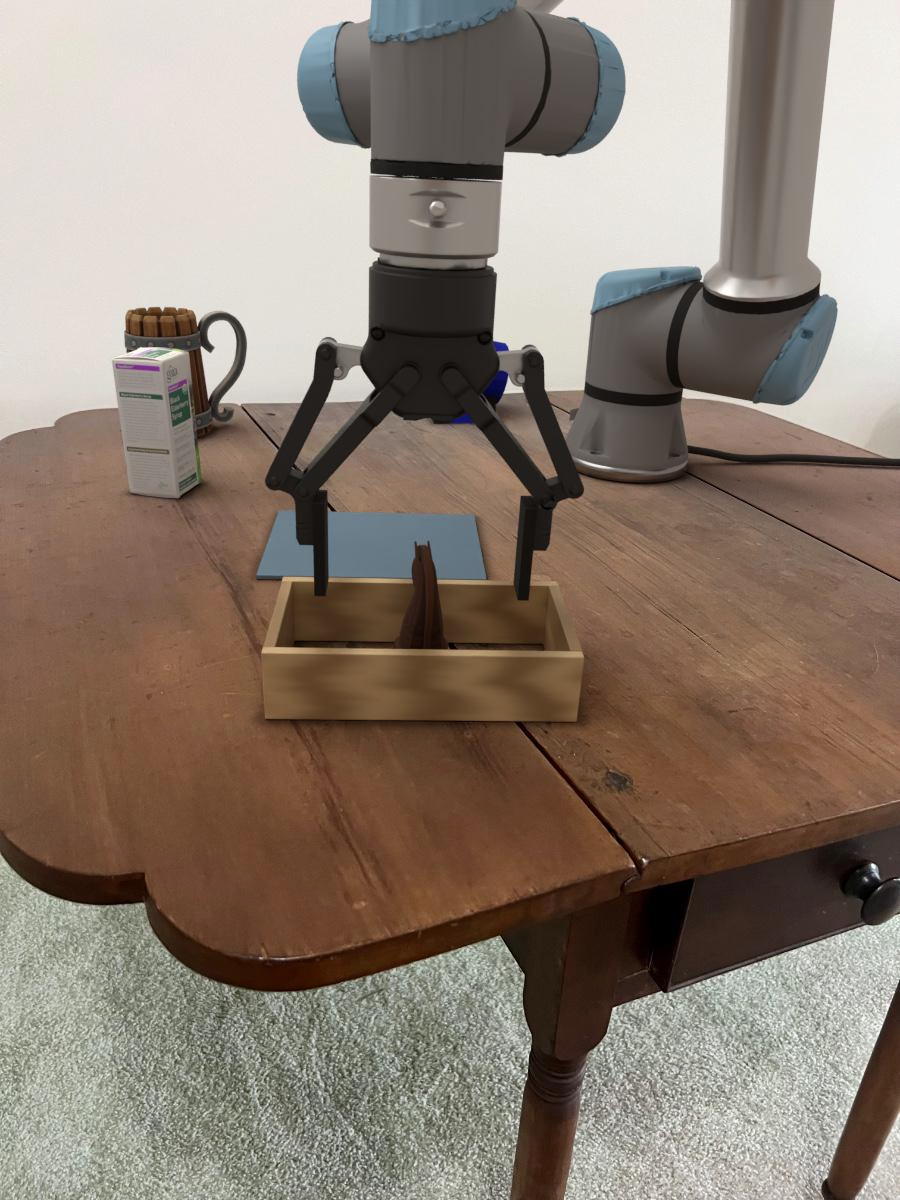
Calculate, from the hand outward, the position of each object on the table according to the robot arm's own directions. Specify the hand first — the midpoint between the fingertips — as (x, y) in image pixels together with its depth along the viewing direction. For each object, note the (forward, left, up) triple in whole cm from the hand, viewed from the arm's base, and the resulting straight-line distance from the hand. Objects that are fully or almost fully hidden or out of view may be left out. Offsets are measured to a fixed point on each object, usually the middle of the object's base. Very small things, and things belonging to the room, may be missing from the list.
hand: (421, 590), depth 63 cm
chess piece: (0, 0, -7) cm, 7 cm away
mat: (+4, -24, -7) cm, 25 cm away
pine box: (0, 0, -7) cm, 7 cm away
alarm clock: (-7, -76, -7) cm, 76 cm away
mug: (+29, -62, -7) cm, 69 cm away
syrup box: (+27, -39, -7) cm, 48 cm away
